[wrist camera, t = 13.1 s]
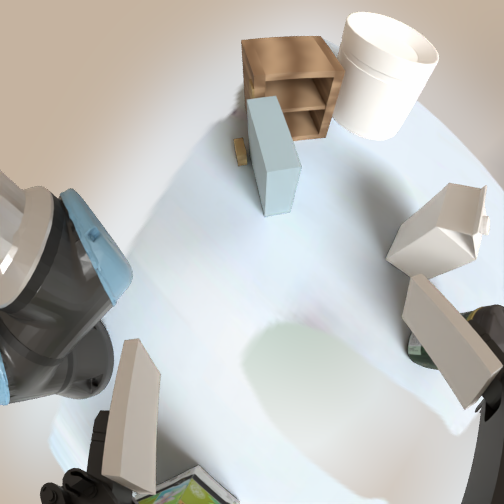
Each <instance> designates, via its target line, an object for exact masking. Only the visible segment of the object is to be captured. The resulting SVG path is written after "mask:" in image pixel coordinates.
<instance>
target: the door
mask: <svg viewBox="0 0 504 504" xmlns="http://www.w3.org/2000/svg"><path fill="white" fill-rule="evenodd" d="M247 116H248V135H249V154H250V158H251V162H252V166H253V170H254V174H255V178H256V183H257V187H258V191H259V195H260V199H261V204H262V208H263V212H264V216H265V217H268V216H274V215H279V214H284V213H290V212H291V208H292V204H293V200H294V196H295V192H296V188H297V184H298V180H299V176H300V172H301V168H302V166H301V163H300V160H299V157H298V154H297V151H296V148H295V145H294V143H293V140H292V137H291V134H290V131H289V129H288V126H287V123H286V120H285V118H284V115H283V112H282V110H281V107H280V105H279V102H278V99H277V97H276V96H270V97H262V98H254V99H247Z"/></svg>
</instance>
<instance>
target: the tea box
mask: <svg viewBox="0 0 504 504" xmlns="http://www.w3.org/2000/svg"><path fill="white" fill-rule="evenodd" d="M134 498H135V499H136V500H137V502H138V503H139V504H240V501H238V500H237V499H236V498H235V497H234V496H232V495H231V494H230V493H229V492H228V491H226V490H225V489H224V488H223V487H222V486H221V485H220V484H219V483H218V482H216V481H215V480H214V479H213V478H212V477H211V476H210V475H209V474H208V473H207V472H206V471H205V470H204V469H203V468H202V467H201V466H200V465H197V466H196V467H194V468H192V469H189V470H187V471H186V472H184V473H182V474H180V475H178V476H176V477H174V478H172V479H170V480H168V481H166V482H164V483H162V484H160V485H157V486H156V495H151V494H138V495H136V496H135V497H134Z"/></svg>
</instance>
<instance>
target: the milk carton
mask: <svg viewBox="0 0 504 504" xmlns="http://www.w3.org/2000/svg"><path fill="white" fill-rule="evenodd" d="M486 190H487V186H486V185H485V186H484V187H483V188H481V189H480V188H475V187H469V186H464V185H458V184H452V183H449V184H448V185H446V186H445V187H444V188H443V189H442V190H441V191H440V192H439V193H438V194H437V195H435V196H434V197H433V198H432V199H431V200H430V201H429V202H427V203H426V204H425V205H424V206H423V207H422V208H421V209H419V210H418V211H417V212H416V213H415V214H414V215H412V216H411V217H410V218H409V219H408V220H406V221H405V222H404V223H403V224H402V225H401V226H400V228H399V230H398V233H397V235H396V237H395V239H394V242H393V244H392V246H391V248H390V250H389V252H388V255H387V257H386V260H387V261H388V262H390V263H391V264H392V265H394V266H395V267H397V268H398V269H400V270H401V271H402V272H404V273H405V274H407V275H408V276H409V277H412V276H415V275H418V274H421V273H422V274H423V275H424V276H425V277H426V278H427V279H430V278H433V277H436V276H438V275H441V274H443V273H446V272H448V271H451V270H453V269H456V268H458V267H461V266H463V265H466V264H468V263H470V262H473V261H475V260H476V258H477V255H478V251H479V247H480V242H481V238H482V234H484V235H488V234H489V230H490V219H489V216H486V211H485V204H484V203H485V197H486Z"/></svg>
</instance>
